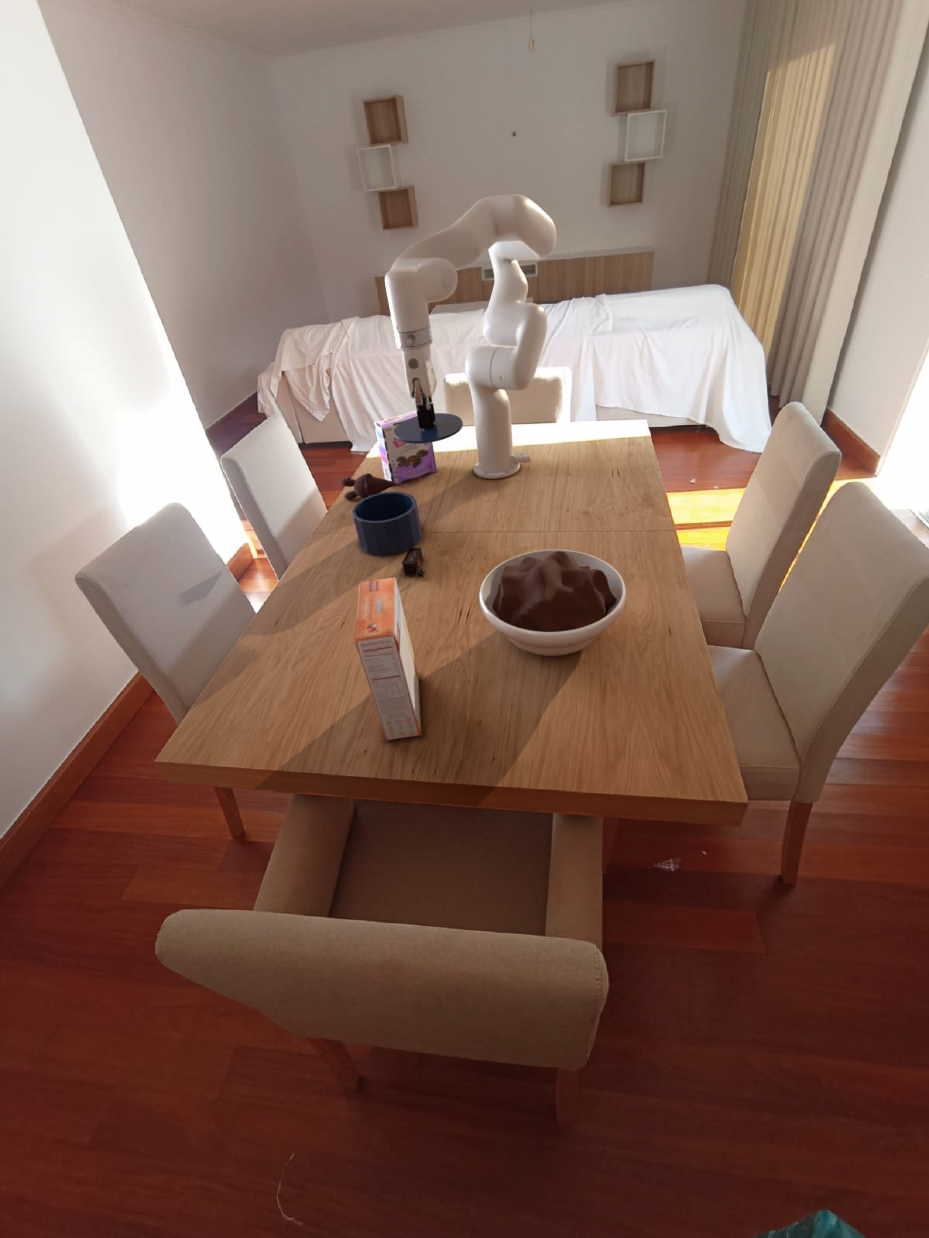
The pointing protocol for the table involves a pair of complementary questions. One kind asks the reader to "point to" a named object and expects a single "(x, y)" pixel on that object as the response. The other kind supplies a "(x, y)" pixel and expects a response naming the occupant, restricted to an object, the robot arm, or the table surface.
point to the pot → (387, 523)
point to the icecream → (366, 486)
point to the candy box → (402, 452)
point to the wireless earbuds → (413, 562)
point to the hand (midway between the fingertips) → (427, 424)
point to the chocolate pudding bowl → (552, 600)
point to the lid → (428, 429)
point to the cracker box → (388, 658)
